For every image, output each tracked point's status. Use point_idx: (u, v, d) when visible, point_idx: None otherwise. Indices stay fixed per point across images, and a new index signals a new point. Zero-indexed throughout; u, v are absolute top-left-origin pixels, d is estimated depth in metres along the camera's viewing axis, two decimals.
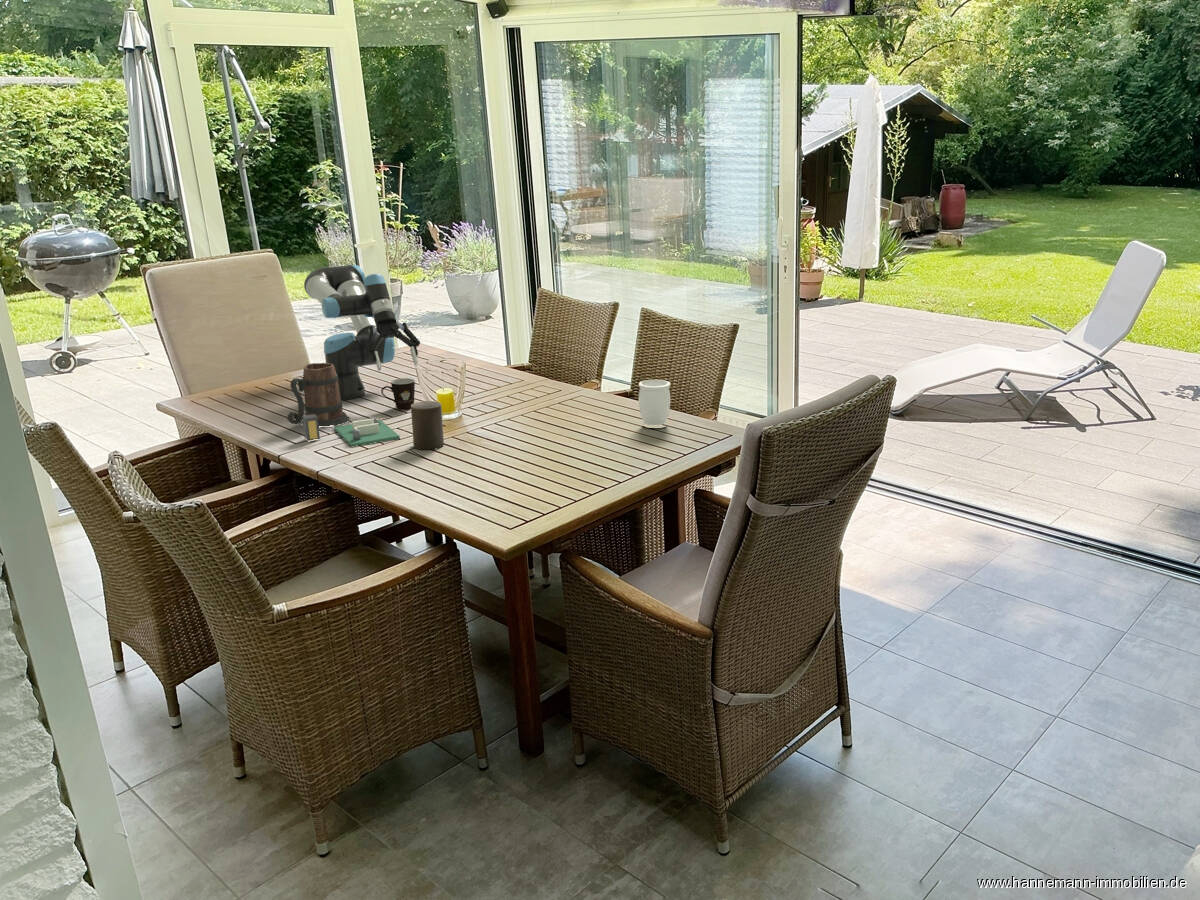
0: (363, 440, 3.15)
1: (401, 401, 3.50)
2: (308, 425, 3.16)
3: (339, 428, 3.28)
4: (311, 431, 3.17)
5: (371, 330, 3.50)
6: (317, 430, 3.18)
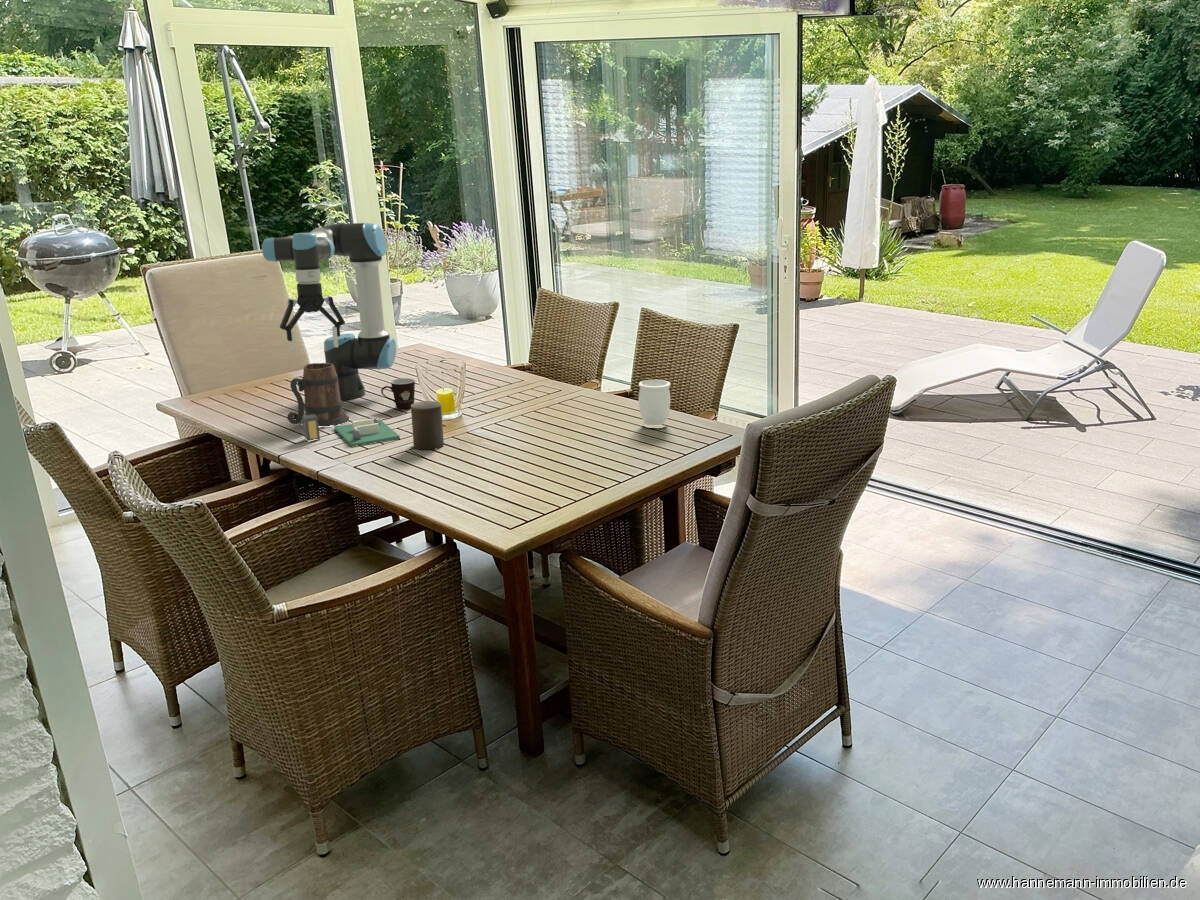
0: (363, 440, 3.15)
1: (401, 401, 3.50)
2: (308, 425, 3.16)
3: (339, 428, 3.28)
4: (311, 431, 3.17)
5: (291, 304, 3.06)
6: (317, 430, 3.18)
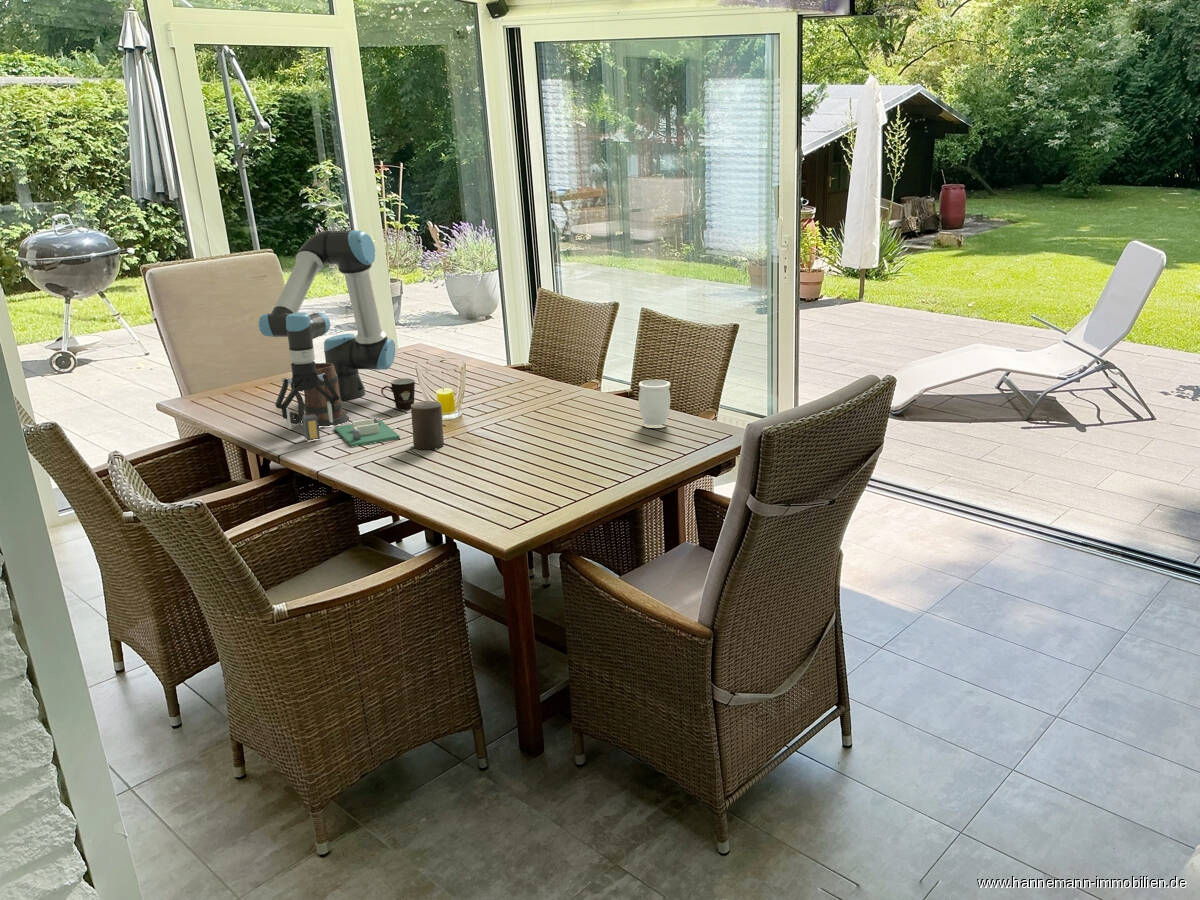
0: (363, 440, 3.15)
1: (401, 401, 3.50)
2: (308, 425, 3.16)
3: (339, 428, 3.28)
4: (311, 431, 3.17)
5: (285, 384, 3.10)
6: (317, 430, 3.18)
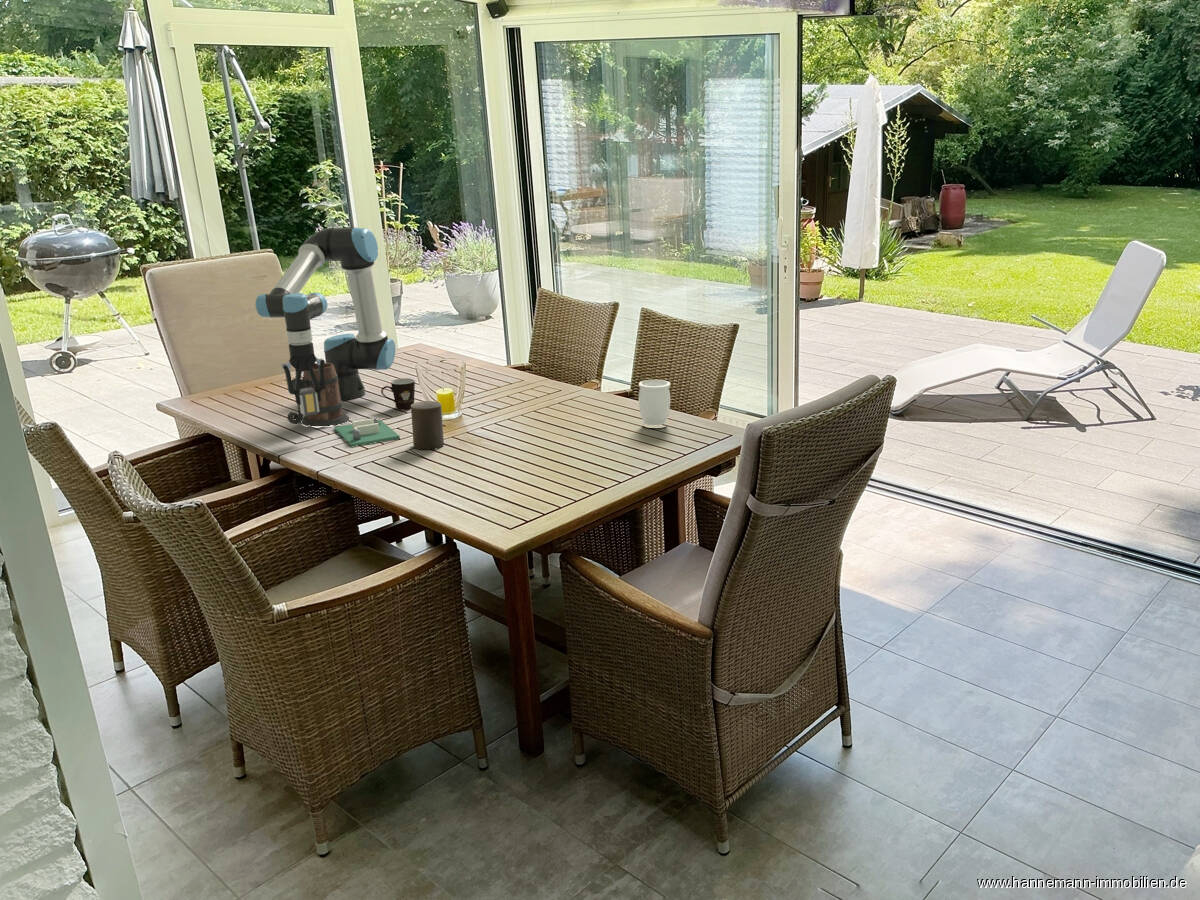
0: (363, 440, 3.15)
1: (401, 401, 3.50)
2: (305, 398, 3.14)
3: (339, 428, 3.28)
4: (308, 404, 3.15)
5: (286, 370, 3.09)
6: (314, 403, 3.16)
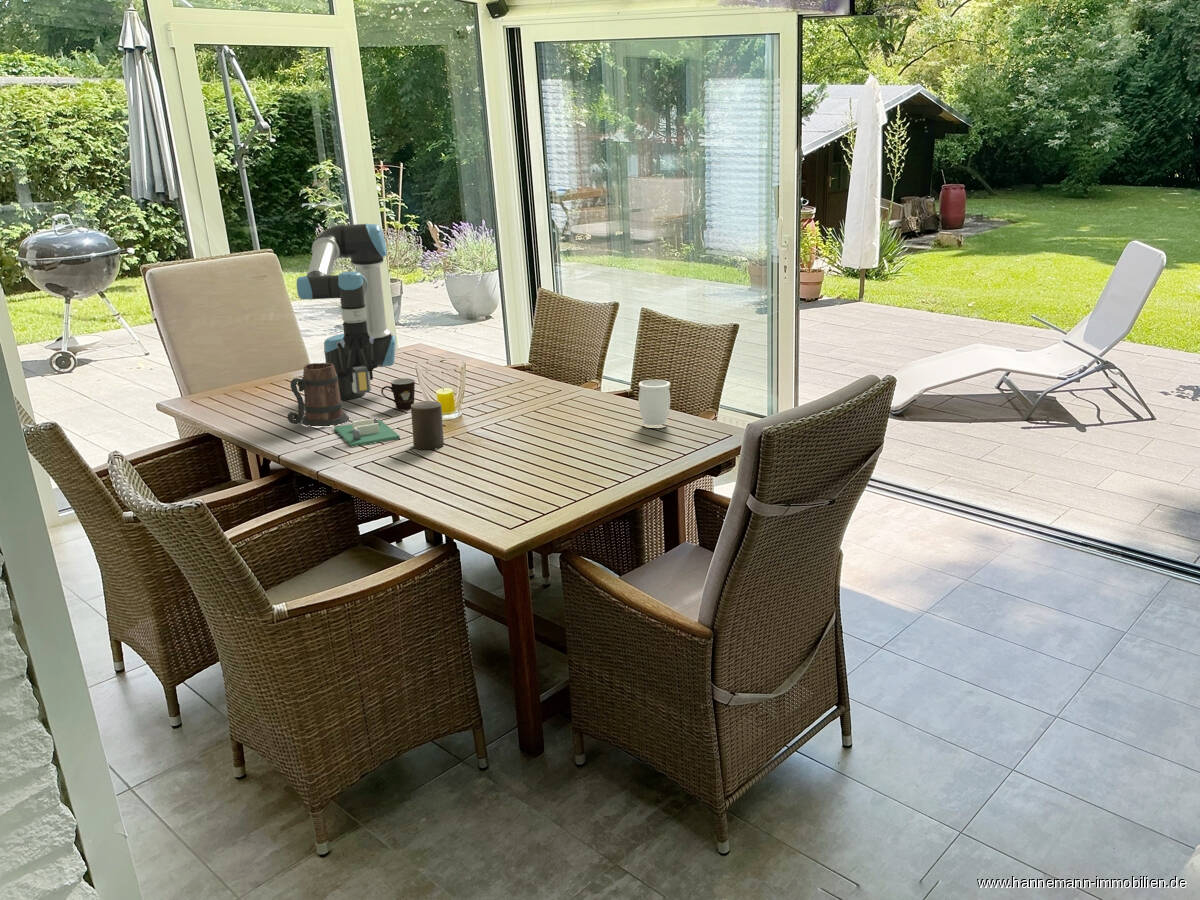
0: (363, 440, 3.15)
1: (401, 401, 3.50)
2: (358, 376, 3.16)
3: (339, 428, 3.28)
4: (361, 382, 3.17)
5: (340, 347, 3.12)
6: (367, 382, 3.18)
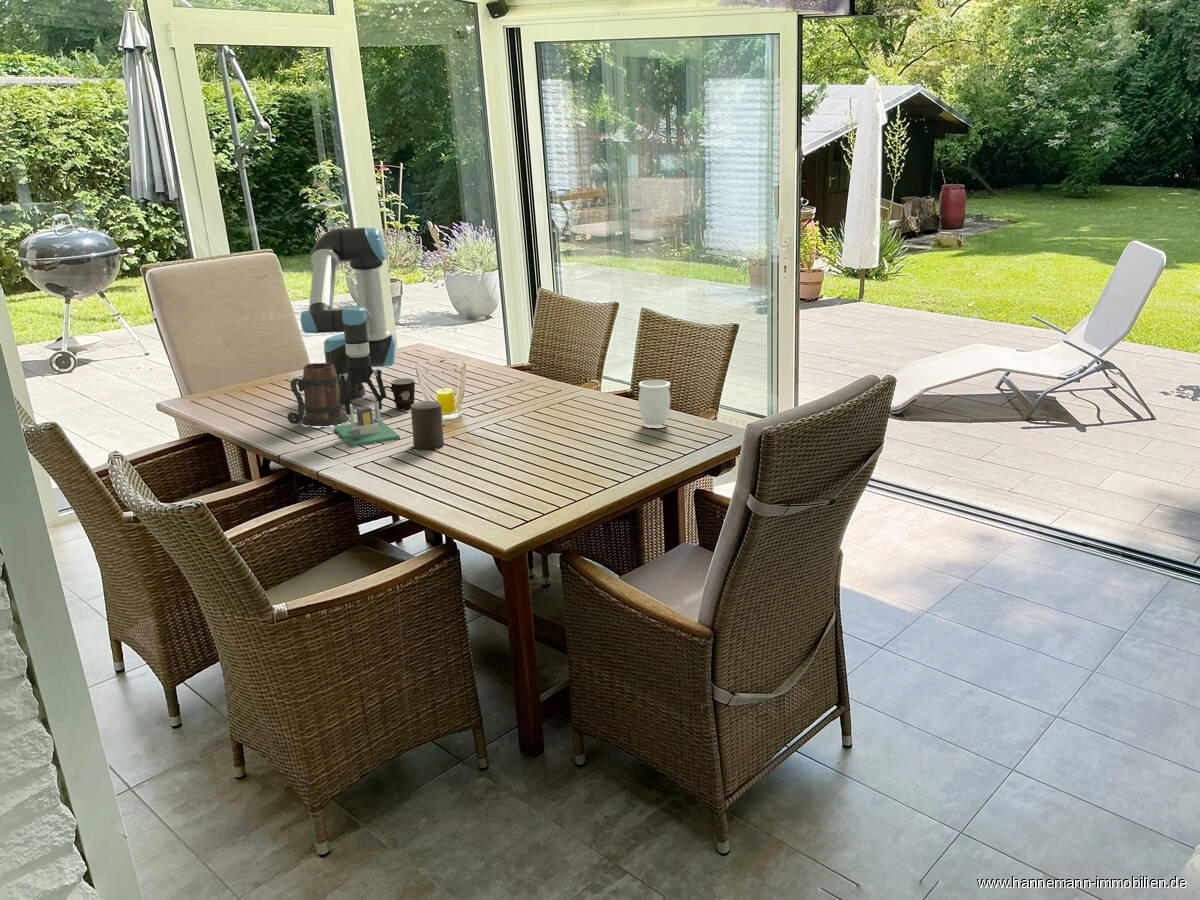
0: (363, 440, 3.15)
1: (401, 401, 3.50)
2: (362, 417, 3.20)
3: (339, 428, 3.28)
4: (365, 423, 3.21)
5: (343, 380, 3.15)
6: (371, 422, 3.22)
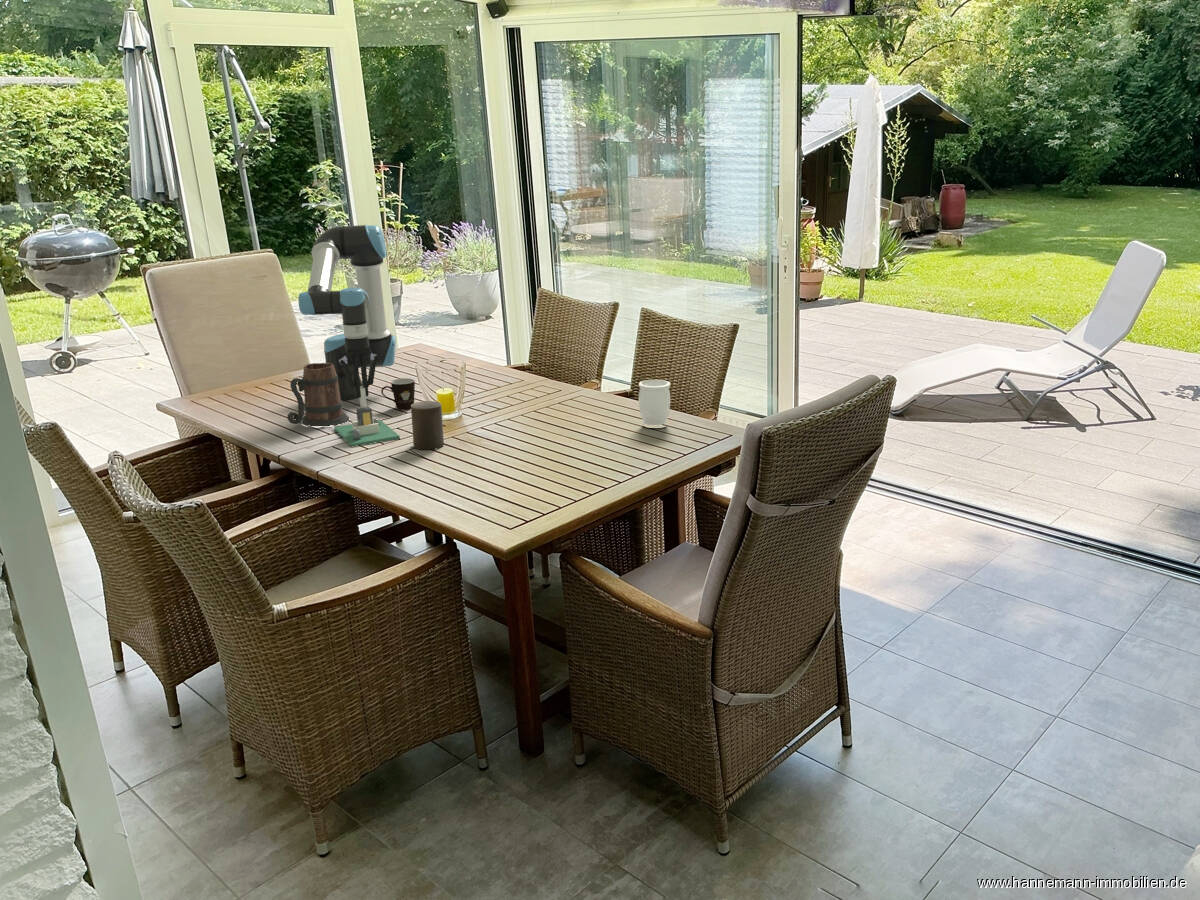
0: (363, 440, 3.15)
1: (401, 401, 3.50)
2: (362, 417, 3.20)
3: (339, 428, 3.28)
4: (365, 423, 3.21)
5: (344, 364, 3.14)
6: (371, 422, 3.22)
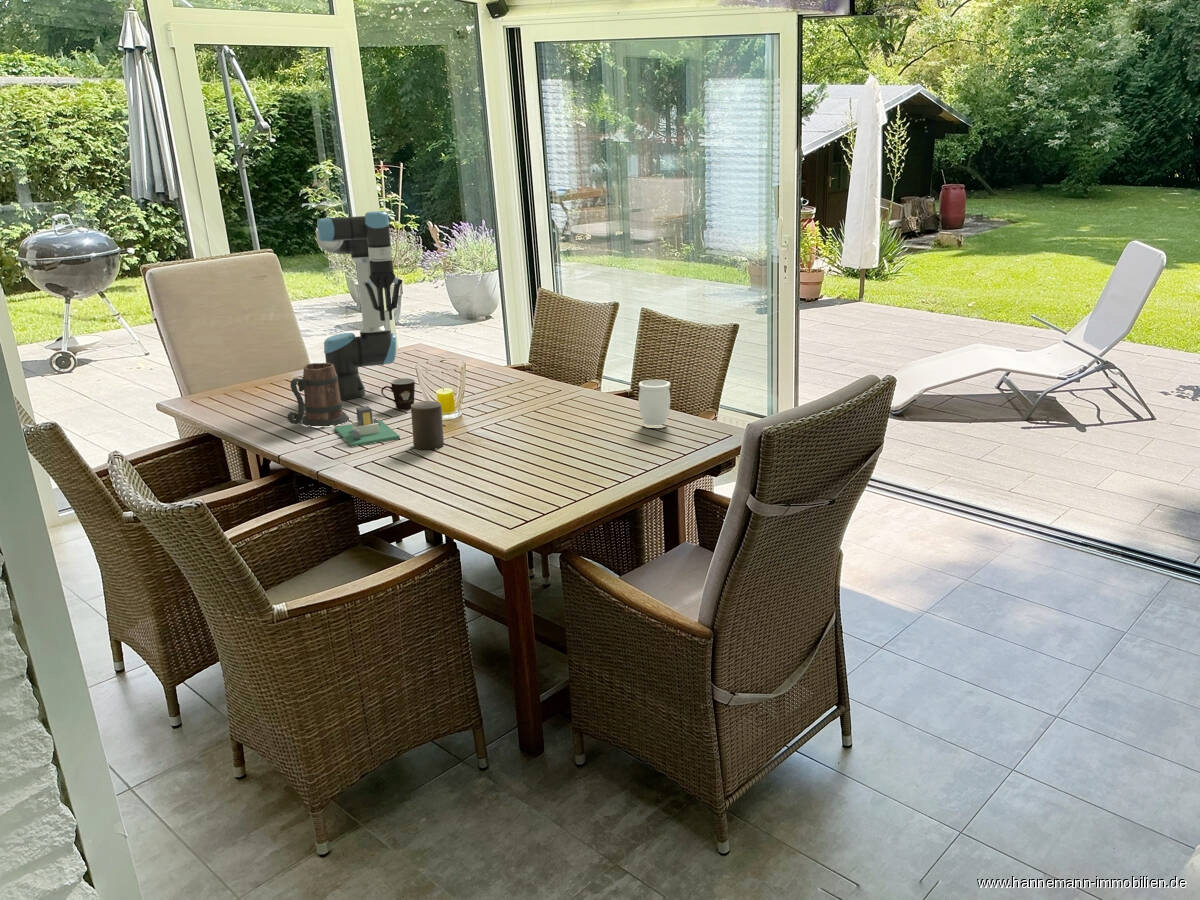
0: (363, 440, 3.15)
1: (401, 401, 3.50)
2: (362, 417, 3.20)
3: (339, 428, 3.28)
4: (365, 423, 3.21)
5: (369, 287, 3.20)
6: (371, 422, 3.22)
